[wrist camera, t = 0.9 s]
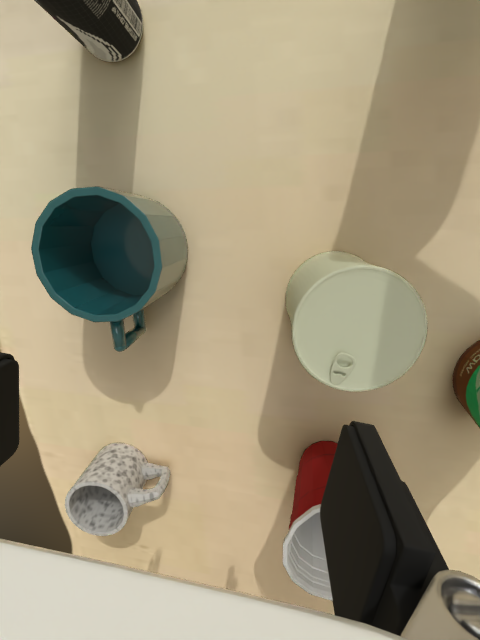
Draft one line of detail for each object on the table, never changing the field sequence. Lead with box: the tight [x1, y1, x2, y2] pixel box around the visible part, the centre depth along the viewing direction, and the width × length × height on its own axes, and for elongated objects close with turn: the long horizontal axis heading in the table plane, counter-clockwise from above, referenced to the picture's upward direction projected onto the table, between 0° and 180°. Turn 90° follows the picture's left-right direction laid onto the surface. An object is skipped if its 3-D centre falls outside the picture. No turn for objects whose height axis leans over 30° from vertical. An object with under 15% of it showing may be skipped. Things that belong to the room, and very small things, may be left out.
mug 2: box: [65, 443, 170, 536], centre depth 40 cm, size 10×7×7 cm, turn 99°
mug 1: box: [31, 187, 188, 352], centre depth 32 cm, size 13×10×9 cm
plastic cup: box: [283, 441, 338, 601], centre depth 35 cm, size 11×11×12 cm
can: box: [286, 251, 427, 392], centre depth 30 cm, size 9×9×12 cm
